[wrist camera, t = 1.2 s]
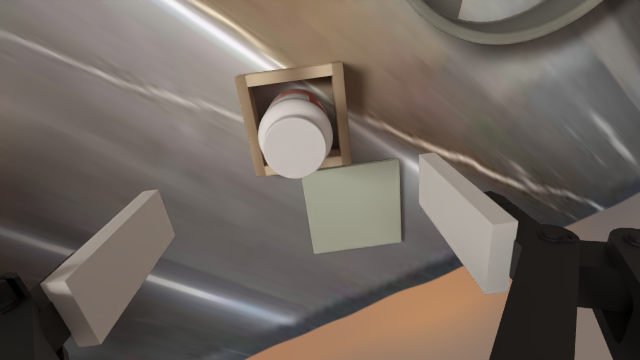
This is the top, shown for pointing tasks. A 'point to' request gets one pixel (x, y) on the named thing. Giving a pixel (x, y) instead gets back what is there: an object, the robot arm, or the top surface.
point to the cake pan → (503, 20)
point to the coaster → (354, 205)
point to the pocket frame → (292, 74)
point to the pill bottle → (295, 134)
